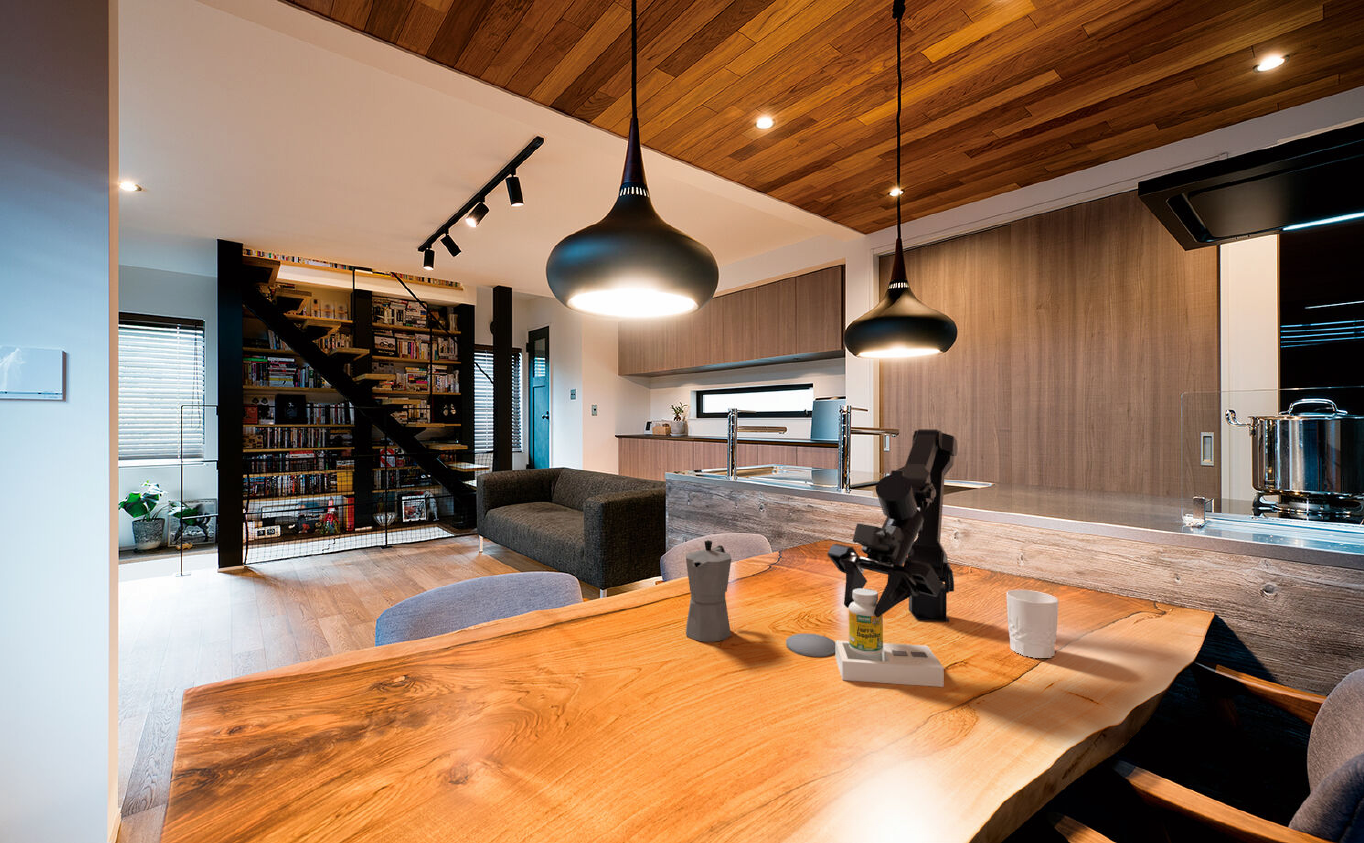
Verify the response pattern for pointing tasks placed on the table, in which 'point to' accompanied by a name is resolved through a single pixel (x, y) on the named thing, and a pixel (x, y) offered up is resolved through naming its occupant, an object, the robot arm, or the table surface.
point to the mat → (811, 645)
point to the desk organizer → (891, 665)
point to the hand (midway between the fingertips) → (860, 610)
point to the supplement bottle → (865, 623)
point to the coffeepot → (708, 594)
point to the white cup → (1032, 622)
